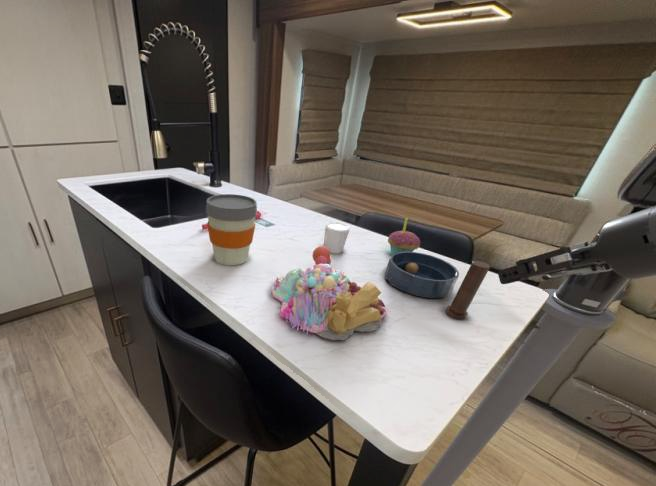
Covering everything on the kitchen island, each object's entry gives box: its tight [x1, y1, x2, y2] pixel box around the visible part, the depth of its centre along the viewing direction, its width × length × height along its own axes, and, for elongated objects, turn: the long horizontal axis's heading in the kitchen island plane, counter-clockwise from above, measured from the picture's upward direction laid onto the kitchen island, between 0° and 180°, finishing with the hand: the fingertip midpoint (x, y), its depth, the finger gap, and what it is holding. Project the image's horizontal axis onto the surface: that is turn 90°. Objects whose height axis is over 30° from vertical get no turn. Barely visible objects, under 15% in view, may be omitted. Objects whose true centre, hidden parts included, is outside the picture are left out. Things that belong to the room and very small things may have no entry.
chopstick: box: [201, 210, 262, 231], centre depth 103 cm, size 24×2×5 cm
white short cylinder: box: [322, 222, 350, 254], centre depth 89 cm, size 7×7×7 cm
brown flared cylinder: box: [444, 260, 491, 321], centre depth 62 cm, size 4×4×12 cm
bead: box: [405, 263, 418, 274], centre depth 78 cm, size 3×3×3 cm
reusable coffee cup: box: [205, 193, 258, 266], centre depth 78 cm, size 13×13×15 cm
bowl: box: [384, 251, 460, 299], centre depth 75 cm, size 15×15×5 cm
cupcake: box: [387, 215, 421, 256], centre depth 86 cm, size 9×8×12 cm
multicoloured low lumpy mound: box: [271, 245, 388, 341], centre depth 64 cm, size 25×24×9 cm
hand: (522, 275), depth 48 cm, fingers open, 8 cm apart
